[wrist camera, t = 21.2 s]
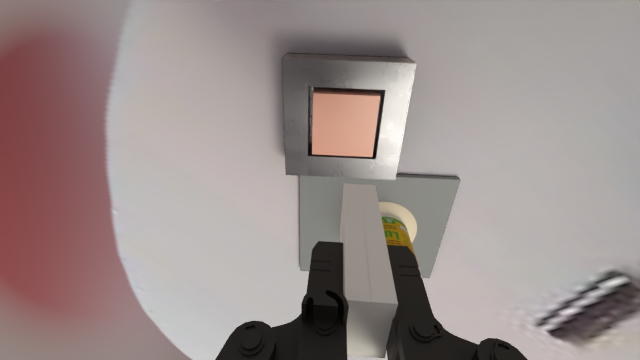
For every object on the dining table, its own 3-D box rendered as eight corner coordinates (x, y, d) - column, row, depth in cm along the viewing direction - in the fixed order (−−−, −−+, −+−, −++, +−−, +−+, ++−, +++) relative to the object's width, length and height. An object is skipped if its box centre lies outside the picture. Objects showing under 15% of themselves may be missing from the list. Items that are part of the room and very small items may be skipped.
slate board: (458, 177, 30) (460, 180, 29) (428, 274, 37) (429, 278, 36) (300, 169, 30) (299, 172, 30) (300, 267, 37) (300, 271, 37)
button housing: (408, 57, 24) (416, 63, 22) (390, 164, 29) (395, 180, 27) (287, 52, 25) (282, 58, 22) (290, 160, 30) (285, 174, 27)
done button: (377, 89, 24) (380, 96, 23) (370, 147, 27) (372, 157, 25) (314, 87, 25) (313, 93, 23) (313, 144, 27) (312, 154, 26)
